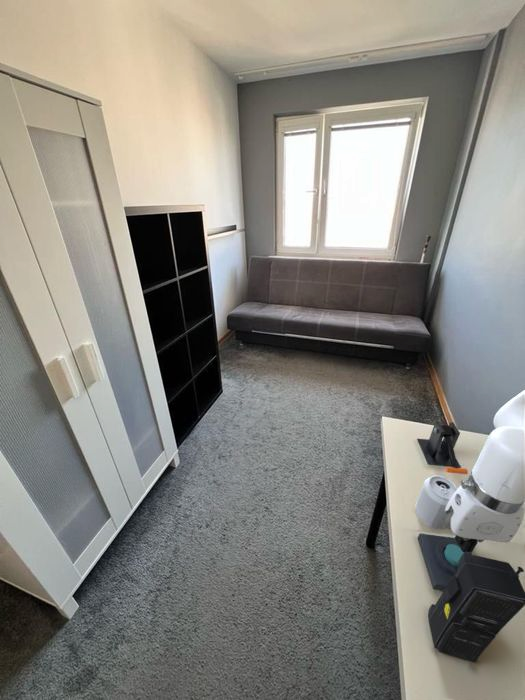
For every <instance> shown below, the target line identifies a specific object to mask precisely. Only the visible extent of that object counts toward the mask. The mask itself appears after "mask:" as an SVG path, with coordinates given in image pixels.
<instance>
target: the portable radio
mask: <svg viewBox="0 0 525 700" xmlns="http://www.w3.org/2000/svg"><path fill="white" fill-rule="evenodd" d="M524 572H525V570H524V569H523V567H521V566H517V570H515V569H514V568H513V566H512V565H511V564H510V563H509V562H507V561H504V560H498V559H494V558H489V557H485V556H479V555H475V554H472V555H471V554H467V553H463V554H462V556H461V558H460V559H459V561H458V570H457V572H456V573H455V575H454V576H453V578H452V579H451V581H450V582H449V583H448V584H447V586H446V587H445V588H444V589H443V590H441V591H442V593H441V595H440V596H439V598H438V599H437V601H436V603H431V604H430V606H429V608H428V612H427V619H428V625H429V629H430V634H431V635H430V636H431V639H432V644H433V647H434V648H435V649H437V651H438V652H439V653H442V654H445V655H448V656H452V657H455V658H458V659H461V660H465V661H469V662H472V663H476V662H477V660H478V659H479V657H480V656H481V655H482V654H483V652H484V651H485V650H486V649H487V648H488V647H489V646H490V645H491V643H492V642H493V641H494V639H495V638H496V636H497V635H498V634H499V633H500V631H501V630H502V629H504V627H505V626H507V624H508V623H509V622H510V621H511V620H512V619H513V618H514V617H515V616H516V615H517V614H518V613H519V612H520V611H521V610H522V609H523V608H524V607H525V589H524V587H523V585H522V582H521V580H520V576H519V575H520V573H524Z"/></svg>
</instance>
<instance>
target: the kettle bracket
mask: <svg viewBox="0 0 525 700" xmlns="http://www.w3.org/2000/svg"><path fill="white" fill-rule="evenodd" d="M448 426H451V430H452V433H453V435H452V436H451V437H450V438H451V442H452V446H453V449H455V446H456V444H457V441H458V439H459V437H460V435H461V432H460V431H459V429H458V428H457V426H456V423H455V422H452V421H451V422H449V424H448ZM444 434H445V431H444V429H443V427H442V424H441V422H440V421H439V420H436V421H435V422H434V425H433V427H432V430H431V432H430V436H429V438H428V439H427V438H416V440H417V443H418V445H419V447H420V450H421V452H422V455H423V457H424V459H425V461H426V463H427V465H429V466H437V467H438V466H439V467H452V463H451V460H450V456H449V452H448V448H447V444H446V440H445V437H443V436H444ZM456 460H457V464H458V468H462V467H461V465H460V463H459V461H458V459H457V458H456Z"/></svg>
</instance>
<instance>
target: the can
mask: <svg viewBox="0 0 525 700" xmlns="http://www.w3.org/2000/svg"><path fill="white" fill-rule="evenodd" d="M458 488H459V487H457V485H456V484H455V483H454V482H453V481H452V480H450V479H449V478H447V477H445V476H442V475H432V476H430V477H427V479H425V480H424V482H423V484H422V487H421V490H420V493H419V494H418V498H417V500H416V503H415V506H414V511H415V514H416V516H417V518H418V520H420V522H422V523H423V524H424V525H425V526H427V527H429V528H431V529H434V530H442V529H443V530H444V529H446V528H445V527H444V525H443V522H442V520H443V519H444V518H445V517H446V516H447V514H445V509H446V506H447V504H448V502H449V500H450V498H451V497H452V495H453V494H454V493H455V491H456V490H457V489H458Z"/></svg>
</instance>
